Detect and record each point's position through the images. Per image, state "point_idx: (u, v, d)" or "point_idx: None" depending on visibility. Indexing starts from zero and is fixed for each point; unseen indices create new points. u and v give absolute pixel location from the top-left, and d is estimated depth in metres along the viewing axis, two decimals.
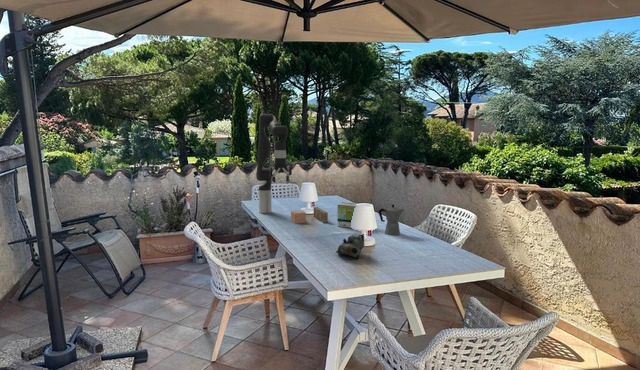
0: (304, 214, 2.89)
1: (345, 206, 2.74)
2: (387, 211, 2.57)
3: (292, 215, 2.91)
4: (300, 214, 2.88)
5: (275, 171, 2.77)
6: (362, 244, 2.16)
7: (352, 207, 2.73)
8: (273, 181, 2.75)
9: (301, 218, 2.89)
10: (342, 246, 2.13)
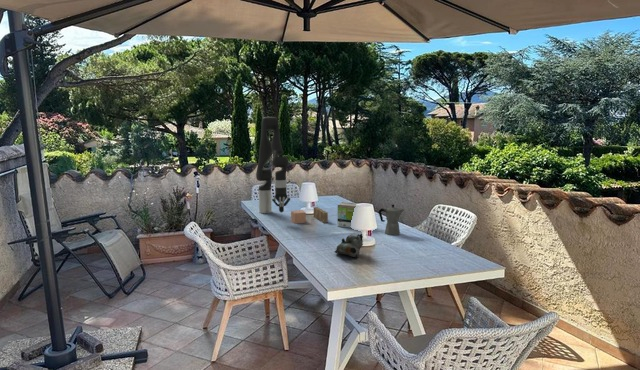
0: (304, 214, 2.89)
1: (345, 206, 2.74)
2: (387, 211, 2.57)
3: (292, 215, 2.91)
4: (300, 214, 2.88)
5: None
6: (360, 244, 2.16)
7: (352, 207, 2.73)
8: (280, 211, 2.86)
9: (301, 218, 2.89)
10: (341, 246, 2.14)
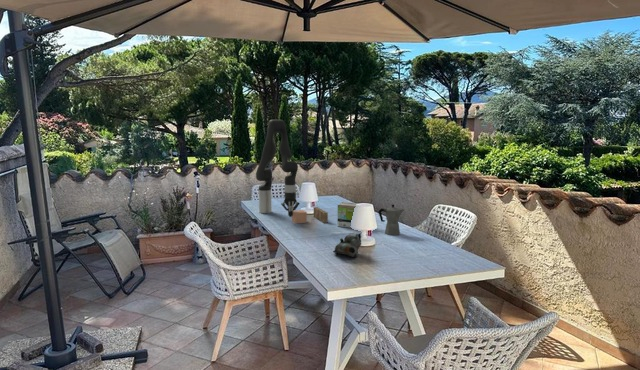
0: (305, 214, 2.90)
1: (345, 206, 2.74)
2: (387, 211, 2.57)
3: (293, 215, 2.91)
4: (301, 214, 2.88)
5: None
6: (359, 243, 2.17)
7: (352, 207, 2.73)
8: (289, 215, 2.89)
9: (302, 218, 2.89)
10: (339, 246, 2.14)
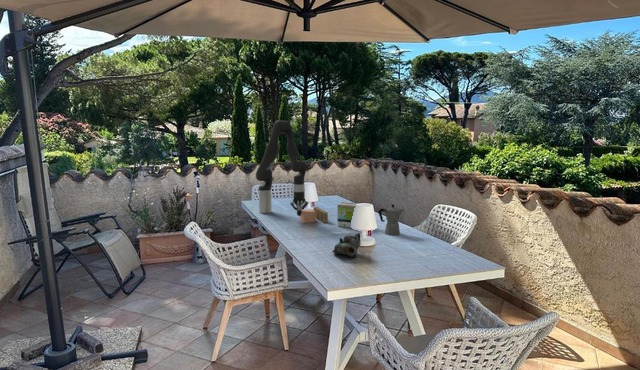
0: (314, 213, 2.92)
1: (345, 206, 2.74)
2: (387, 211, 2.57)
3: (302, 214, 2.93)
4: (310, 213, 2.91)
5: None
6: (358, 243, 2.17)
7: (352, 207, 2.73)
8: (297, 214, 2.91)
9: (311, 217, 2.91)
10: (339, 246, 2.14)
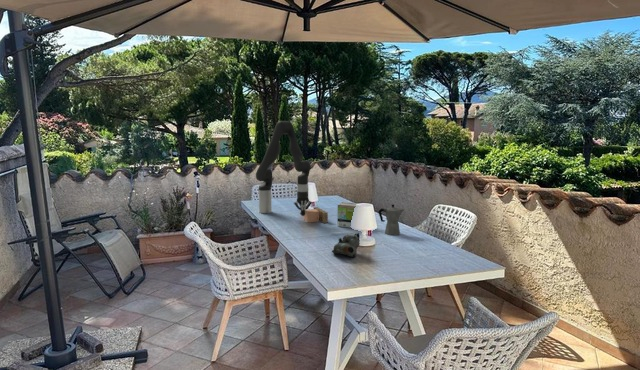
0: (317, 213, 2.92)
1: (345, 206, 2.74)
2: (387, 211, 2.57)
3: (306, 214, 2.94)
4: (313, 213, 2.91)
5: None
6: (358, 243, 2.17)
7: (352, 207, 2.73)
8: (301, 214, 2.92)
9: (314, 217, 2.92)
10: (338, 245, 2.14)
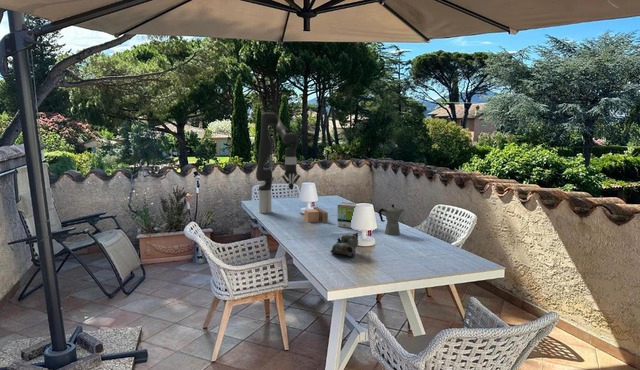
0: (317, 213, 2.92)
1: (345, 206, 2.74)
2: (387, 211, 2.57)
3: (306, 214, 2.94)
4: (313, 213, 2.91)
5: None
6: (356, 243, 2.18)
7: (352, 207, 2.73)
8: None
9: (314, 217, 2.92)
10: (337, 245, 2.15)
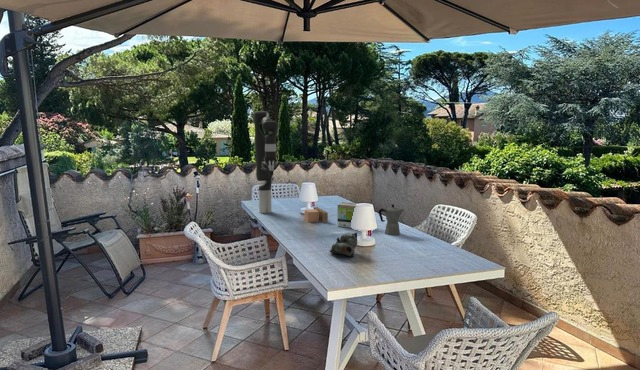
0: (317, 213, 2.92)
1: (345, 206, 2.74)
2: (387, 211, 2.57)
3: (306, 214, 2.94)
4: (313, 213, 2.91)
5: None
6: (355, 243, 2.18)
7: (352, 207, 2.73)
8: (269, 175, 2.91)
9: (314, 217, 2.92)
10: (336, 245, 2.15)
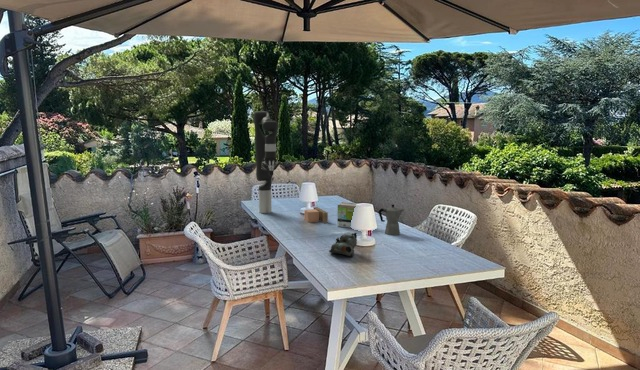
0: (317, 213, 2.92)
1: (345, 206, 2.74)
2: (387, 211, 2.57)
3: (306, 214, 2.94)
4: (313, 213, 2.91)
5: None
6: (355, 243, 2.18)
7: (352, 207, 2.73)
8: (269, 175, 2.91)
9: (314, 217, 2.92)
10: (336, 245, 2.15)
